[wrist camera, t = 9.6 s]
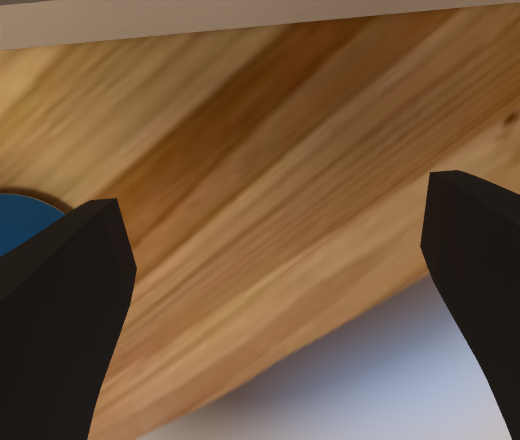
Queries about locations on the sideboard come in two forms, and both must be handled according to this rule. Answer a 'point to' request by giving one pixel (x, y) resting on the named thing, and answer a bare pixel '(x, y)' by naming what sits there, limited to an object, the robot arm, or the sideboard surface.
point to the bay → (179, 16)
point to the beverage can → (23, 219)
